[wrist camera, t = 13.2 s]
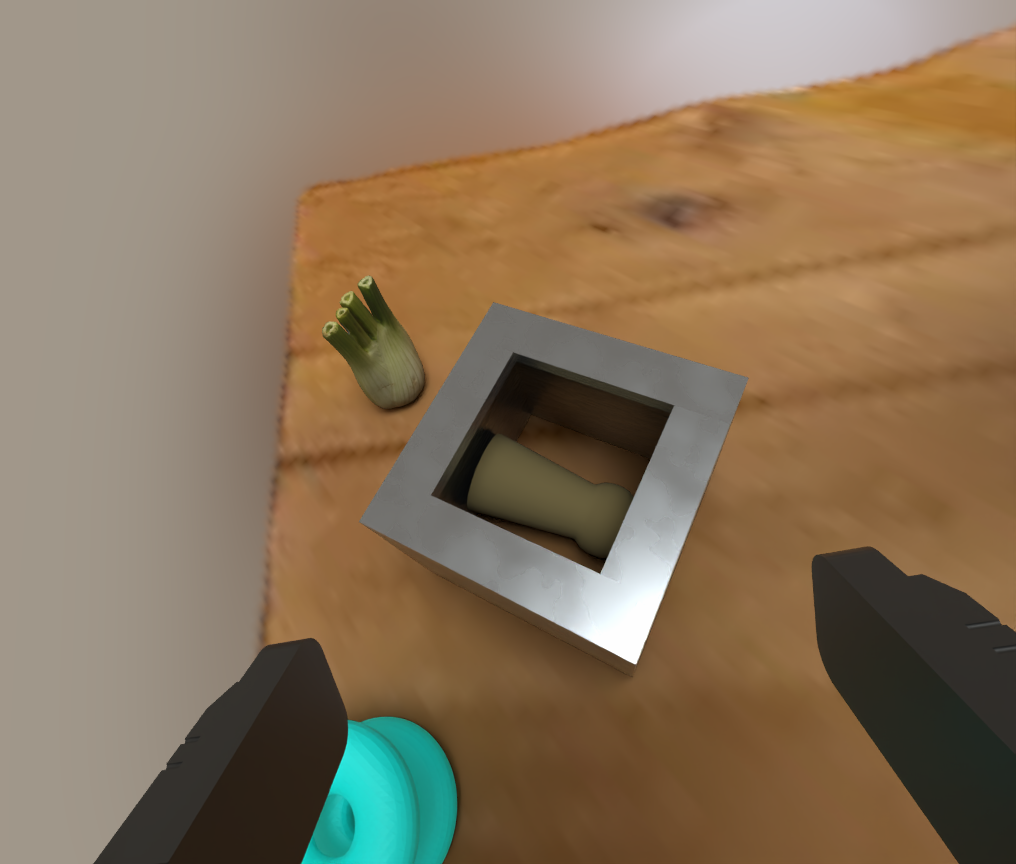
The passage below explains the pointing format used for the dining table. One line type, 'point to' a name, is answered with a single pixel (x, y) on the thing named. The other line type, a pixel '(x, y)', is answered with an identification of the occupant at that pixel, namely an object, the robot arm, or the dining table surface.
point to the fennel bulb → (376, 348)
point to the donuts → (387, 799)
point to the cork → (547, 496)
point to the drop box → (586, 409)
